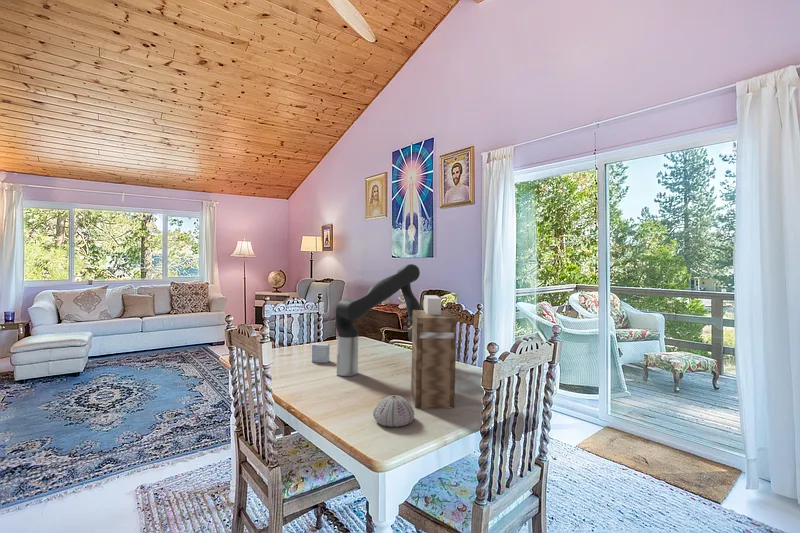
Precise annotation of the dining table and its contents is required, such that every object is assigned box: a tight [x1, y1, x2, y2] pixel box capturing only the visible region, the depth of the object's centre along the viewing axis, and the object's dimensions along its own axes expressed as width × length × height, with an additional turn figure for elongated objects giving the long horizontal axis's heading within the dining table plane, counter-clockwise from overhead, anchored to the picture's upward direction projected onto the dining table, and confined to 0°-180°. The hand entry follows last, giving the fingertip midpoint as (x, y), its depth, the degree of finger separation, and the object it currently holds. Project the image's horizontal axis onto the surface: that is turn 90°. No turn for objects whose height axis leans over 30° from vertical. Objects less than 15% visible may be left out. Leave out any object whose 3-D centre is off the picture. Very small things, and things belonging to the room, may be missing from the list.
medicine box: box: [311, 342, 331, 364], centre depth 197 cm, size 8×4×9 cm, turn 84°
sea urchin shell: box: [372, 394, 415, 428], centre depth 128 cm, size 13×14×8 cm
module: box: [422, 294, 442, 315], centre depth 156 cm, size 5×21×6 cm, turn 3°
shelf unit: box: [410, 309, 458, 410], centre depth 148 cm, size 14×21×32 cm
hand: (426, 309), depth 169 cm, fingers open, 8 cm apart
